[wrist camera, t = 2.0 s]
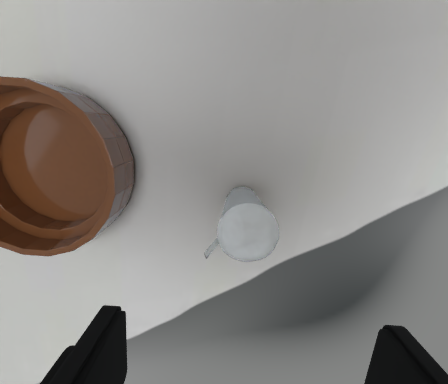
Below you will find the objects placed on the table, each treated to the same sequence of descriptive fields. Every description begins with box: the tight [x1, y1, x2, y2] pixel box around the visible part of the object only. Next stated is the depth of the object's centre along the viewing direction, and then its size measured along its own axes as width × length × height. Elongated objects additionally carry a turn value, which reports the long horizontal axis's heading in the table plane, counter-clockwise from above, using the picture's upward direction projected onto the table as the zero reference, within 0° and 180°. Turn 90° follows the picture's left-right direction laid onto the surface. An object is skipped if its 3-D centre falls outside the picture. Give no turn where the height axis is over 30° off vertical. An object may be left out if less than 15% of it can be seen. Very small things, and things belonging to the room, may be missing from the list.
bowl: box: [0, 77, 134, 256], centre depth 23 cm, size 15×15×5 cm
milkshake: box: [204, 186, 279, 262], centre depth 21 cm, size 4×5×10 cm
